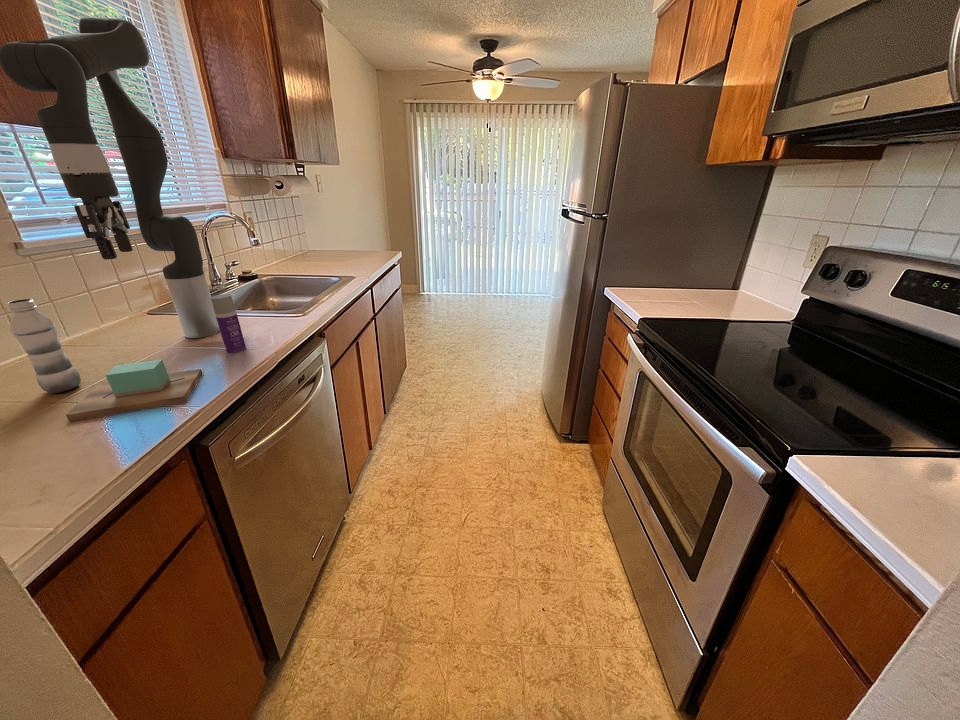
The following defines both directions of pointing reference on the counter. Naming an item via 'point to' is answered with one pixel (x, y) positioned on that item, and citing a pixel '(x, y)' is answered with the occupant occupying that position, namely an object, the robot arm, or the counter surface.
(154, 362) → the block
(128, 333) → the counter surface
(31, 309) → the plastic bottle
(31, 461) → the counter surface
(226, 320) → the container
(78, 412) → the oak board
